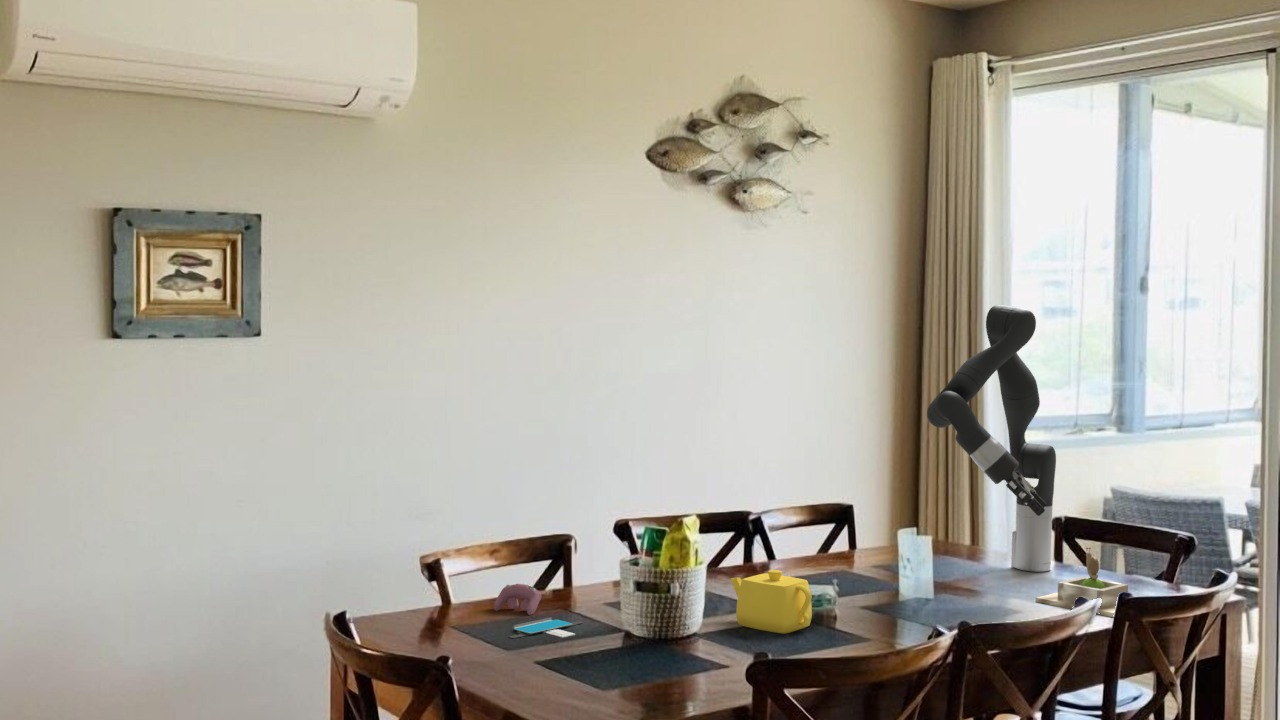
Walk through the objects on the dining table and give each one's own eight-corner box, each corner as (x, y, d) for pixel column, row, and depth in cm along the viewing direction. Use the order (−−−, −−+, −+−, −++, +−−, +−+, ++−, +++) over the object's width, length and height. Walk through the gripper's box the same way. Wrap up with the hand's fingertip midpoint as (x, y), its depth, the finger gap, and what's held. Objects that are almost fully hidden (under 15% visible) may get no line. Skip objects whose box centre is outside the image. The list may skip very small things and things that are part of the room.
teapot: (715, 621, 294) (716, 567, 293) (748, 612, 303) (749, 560, 303) (793, 637, 281) (795, 581, 280) (825, 627, 291) (826, 572, 290)
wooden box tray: (1035, 601, 319) (1036, 580, 319) (1072, 593, 330) (1072, 572, 330) (1114, 617, 305) (1115, 595, 304) (1149, 607, 315) (1150, 586, 315)
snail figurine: (1097, 597, 321) (1099, 547, 320) (1108, 603, 314) (1110, 552, 314) (1075, 597, 321) (1076, 546, 320) (1085, 603, 314) (1087, 551, 314)
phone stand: (532, 647, 271) (532, 638, 271) (493, 636, 279) (493, 628, 279) (603, 630, 286) (603, 622, 285) (564, 620, 294) (564, 613, 294)
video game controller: (538, 619, 299) (546, 589, 301) (530, 614, 295) (537, 583, 297) (499, 614, 303) (507, 584, 305) (490, 609, 299) (498, 578, 301)
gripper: (1004, 452, 315) (1054, 504, 312) (1007, 445, 329) (1055, 495, 326) (980, 474, 317) (1029, 526, 314) (984, 466, 331) (1032, 516, 328)
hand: (1042, 510), depth 320 cm, fingers open, 8 cm apart
